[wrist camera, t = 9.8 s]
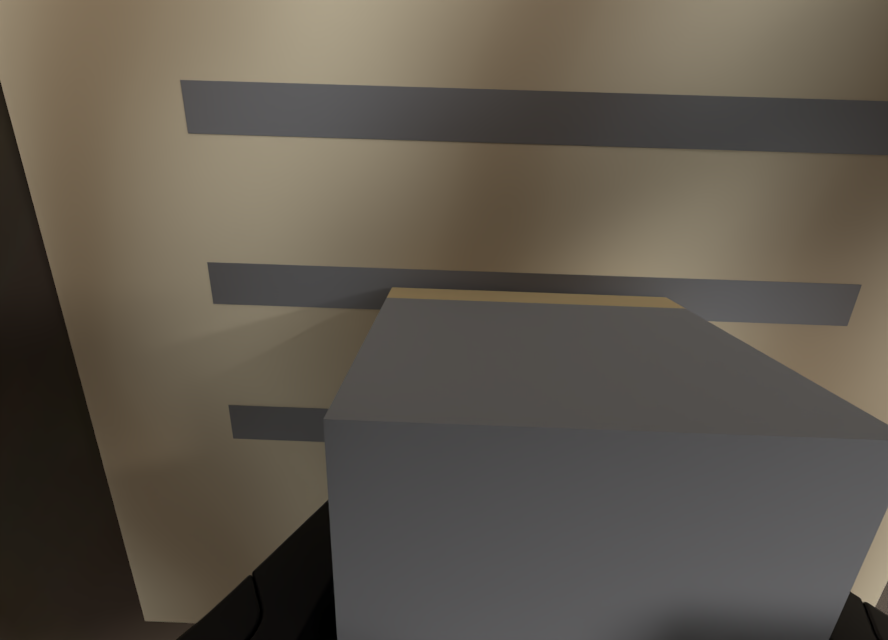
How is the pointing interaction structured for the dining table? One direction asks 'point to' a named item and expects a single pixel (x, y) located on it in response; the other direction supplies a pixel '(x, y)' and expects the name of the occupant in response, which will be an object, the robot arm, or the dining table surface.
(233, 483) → the plywood board
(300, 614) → the robot arm
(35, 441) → the dining table surface
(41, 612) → the dining table surface
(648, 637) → the block
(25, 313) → the dining table surface
